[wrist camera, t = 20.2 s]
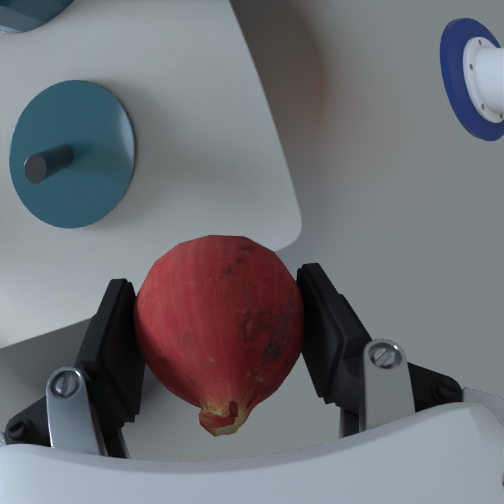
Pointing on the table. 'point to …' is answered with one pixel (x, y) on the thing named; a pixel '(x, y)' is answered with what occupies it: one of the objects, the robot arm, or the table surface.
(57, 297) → the table surface
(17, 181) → the lid
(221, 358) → the red pomegranate
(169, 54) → the table surface
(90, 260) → the table surface
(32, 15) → the pot
